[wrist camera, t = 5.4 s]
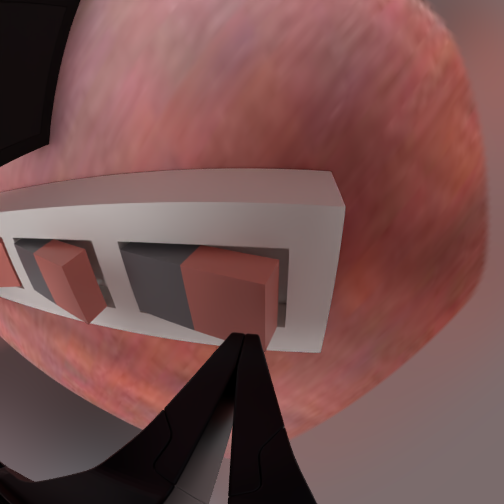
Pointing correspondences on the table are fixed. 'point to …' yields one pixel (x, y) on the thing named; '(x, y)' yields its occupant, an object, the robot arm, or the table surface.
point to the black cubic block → (30, 70)
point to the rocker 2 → (62, 276)
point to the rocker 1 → (7, 269)
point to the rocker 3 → (205, 287)
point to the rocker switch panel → (190, 237)
